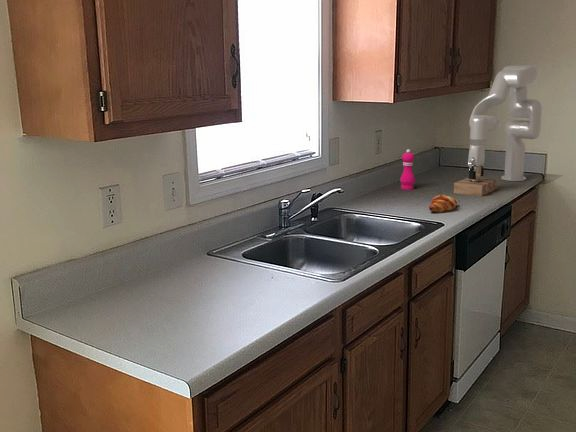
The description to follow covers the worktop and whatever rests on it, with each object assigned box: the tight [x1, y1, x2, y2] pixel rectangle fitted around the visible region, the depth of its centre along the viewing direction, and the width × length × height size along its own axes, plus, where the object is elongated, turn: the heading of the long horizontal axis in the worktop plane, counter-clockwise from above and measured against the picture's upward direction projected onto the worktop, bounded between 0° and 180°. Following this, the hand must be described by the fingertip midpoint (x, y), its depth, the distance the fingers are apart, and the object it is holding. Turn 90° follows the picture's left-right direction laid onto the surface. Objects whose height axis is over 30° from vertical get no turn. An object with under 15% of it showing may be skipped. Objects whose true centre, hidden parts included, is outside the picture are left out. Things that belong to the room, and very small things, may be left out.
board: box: [453, 176, 498, 197], centre depth 318 cm, size 20×14×5 cm
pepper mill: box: [399, 149, 416, 191], centre depth 326 cm, size 7×7×20 cm
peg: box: [472, 165, 482, 183], centre depth 317 cm, size 4×4×12 cm
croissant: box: [428, 194, 458, 213], centre depth 283 cm, size 21×10×8 cm, turn 137°
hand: (476, 177), depth 317 cm, fingers open, 9 cm apart
